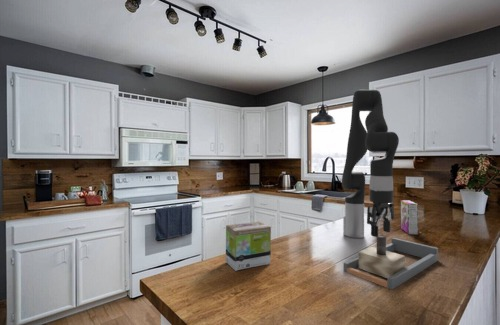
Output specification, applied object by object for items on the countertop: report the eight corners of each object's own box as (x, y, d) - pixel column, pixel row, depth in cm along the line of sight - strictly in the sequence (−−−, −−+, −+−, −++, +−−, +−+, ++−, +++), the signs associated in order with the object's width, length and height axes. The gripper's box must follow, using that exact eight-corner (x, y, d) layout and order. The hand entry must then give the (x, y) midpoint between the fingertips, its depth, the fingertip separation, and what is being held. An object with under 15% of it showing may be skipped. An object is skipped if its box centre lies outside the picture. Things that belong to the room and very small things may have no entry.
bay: (343, 270, 94) (343, 257, 94) (393, 248, 117) (393, 237, 117) (392, 289, 81) (392, 273, 80) (437, 260, 103) (438, 247, 103)
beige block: (358, 268, 96) (358, 235, 95) (371, 262, 101) (371, 231, 101) (392, 280, 86) (392, 243, 86) (404, 272, 91) (405, 238, 91)
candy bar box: (400, 228, 149) (400, 200, 149) (409, 229, 148) (410, 200, 148) (407, 234, 138) (408, 203, 138) (418, 234, 137) (418, 203, 137)
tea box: (235, 272, 94) (235, 231, 94) (225, 262, 103) (224, 224, 102) (271, 264, 101) (271, 225, 100) (258, 255, 110) (258, 220, 109)
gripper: (380, 186, 100) (380, 228, 101) (360, 189, 92) (359, 235, 92) (401, 187, 94) (401, 232, 94) (381, 191, 86) (381, 240, 86)
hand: (380, 233), depth 93 cm, fingers open, 8 cm apart
